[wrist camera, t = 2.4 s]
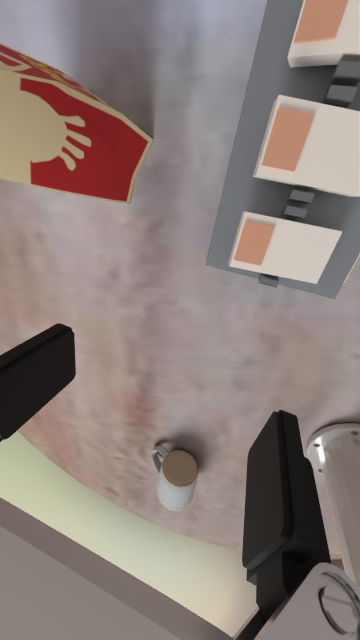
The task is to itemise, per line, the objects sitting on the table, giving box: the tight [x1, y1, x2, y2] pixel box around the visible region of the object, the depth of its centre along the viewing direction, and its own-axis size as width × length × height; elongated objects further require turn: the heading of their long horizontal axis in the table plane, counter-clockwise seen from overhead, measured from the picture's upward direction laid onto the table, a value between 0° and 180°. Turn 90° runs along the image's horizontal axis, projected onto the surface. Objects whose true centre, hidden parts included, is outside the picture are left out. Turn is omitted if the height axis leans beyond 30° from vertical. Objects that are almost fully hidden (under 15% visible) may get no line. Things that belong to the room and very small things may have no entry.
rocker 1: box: [228, 211, 342, 284], centre depth 20 cm, size 8×4×1 cm, turn 79°
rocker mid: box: [253, 95, 360, 197], centre depth 16 cm, size 8×4×1 cm, turn 79°
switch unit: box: [206, 0, 360, 299], centre depth 19 cm, size 13×21×7 cm, turn 170°
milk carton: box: [0, 44, 153, 203], centre depth 19 cm, size 9×9×20 cm
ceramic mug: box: [151, 445, 198, 511], centre depth 45 cm, size 11×8×8 cm
